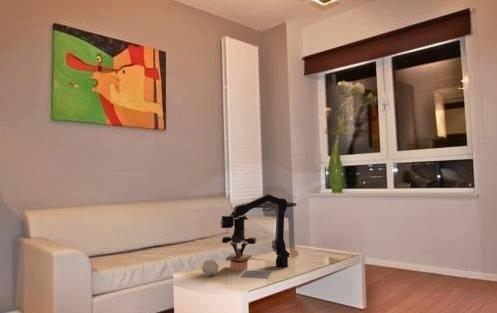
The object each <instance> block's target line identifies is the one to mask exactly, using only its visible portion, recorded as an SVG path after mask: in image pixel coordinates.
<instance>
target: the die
mask: <svg viewBox="0 0 497 313" xmlns="http://www.w3.org/2000/svg"><path fill="white" fill-rule="evenodd" d="M219 268H220V267H219V264H218V263H217V261H216V260H215V259H206V260H204V262H203V265H202V267H201V270H202V273H203V274H204V276H205V277H212V276H214V277H215V276H216V275H217V273H218V270H219Z"/></svg>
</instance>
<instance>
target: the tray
mask: <svg viewBox="0 0 497 313" xmlns="http://www.w3.org/2000/svg"><path fill="white" fill-rule="evenodd" d="M271 273H272V271H264V270H263V271H261V270H258V271H257V270H245V271H244V272H243V274H242V275H241V276H240V278H247V279H263V280H268V278H269V277H270V276H271Z"/></svg>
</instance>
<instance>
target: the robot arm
mask: <svg viewBox="0 0 497 313" xmlns="http://www.w3.org/2000/svg"><path fill="white" fill-rule="evenodd" d="M266 203H271V204H272V205H274V209H275V212H276V217H275V218H276V222H275V224H276V226H275V238H274V240H272V242H271V243H272V246H271V249H272V251H273V253H275V255H276V258H275V267H276V268H288V267H289V258H290V255H291V254H290V252H288V250H287V248H286V242H285V238H284V234H285V213H286V211H287V207H288V201H287V199H285V198H283V197H282V198H281V197H276V196H273V195H272V194H269V193H266V194H264V195H263V196H260V197H258V198H255V199H253V200H251V201H249V202H247V203H240V204H236V205H235V206H234V207H233V210H232V213H231V214H230V215H222V216H221V220H220V228H221V229H232V228H233V227H234V228H233V234H232V235H231V236H223V237H222V238H221V243H223V244H228V243H229V245H231V246H232V248H233V250H234V254H236V250H237V249H238V244H241V245H240V246H241V247H240V248H241V256H242V255H244V251H245V249H246V247H247V246H248V245H255V244H256V243H257V238H256V237H248V238H246V237H245V230H246V228H245V221H246V220H248V217H247V216H246V214H247V213H248V212H250V211H252V209H255V208H257V207H259V206H261V205H263V204H266Z"/></svg>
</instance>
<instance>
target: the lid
mask: <svg viewBox="0 0 497 313" xmlns="http://www.w3.org/2000/svg"><path fill="white" fill-rule="evenodd" d="M241 248H242V247H239V248H238V247H237V250H236V254H235V253H231V254H230V255H228V256H227V257H226V258H225V260H226V261H231V260H232V261H248V262H249V260H250V259H251V258H252V257H253V254H243V255H242V256H241Z"/></svg>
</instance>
